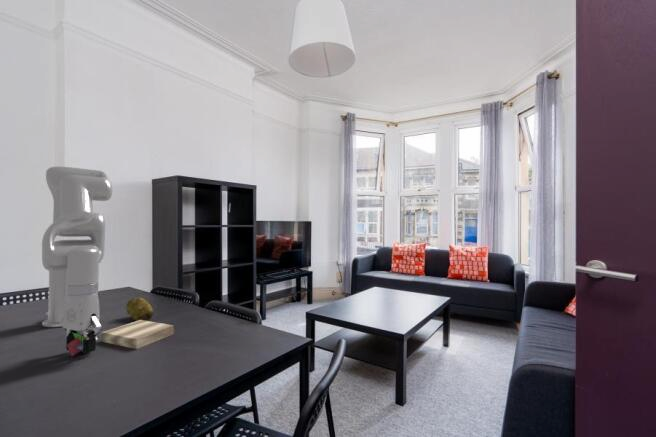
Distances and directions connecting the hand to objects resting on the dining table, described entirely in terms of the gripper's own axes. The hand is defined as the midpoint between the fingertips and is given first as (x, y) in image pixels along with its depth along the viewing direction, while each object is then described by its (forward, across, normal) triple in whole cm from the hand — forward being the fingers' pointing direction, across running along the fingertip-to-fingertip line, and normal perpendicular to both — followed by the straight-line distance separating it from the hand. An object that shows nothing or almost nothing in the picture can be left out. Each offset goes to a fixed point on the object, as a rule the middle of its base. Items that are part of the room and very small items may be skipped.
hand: (80, 349), depth 92 cm
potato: (+1, -14, +30) cm, 33 cm away
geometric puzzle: (+1, 0, 0) cm, 1 cm away
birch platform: (+1, +4, +16) cm, 16 cm away
